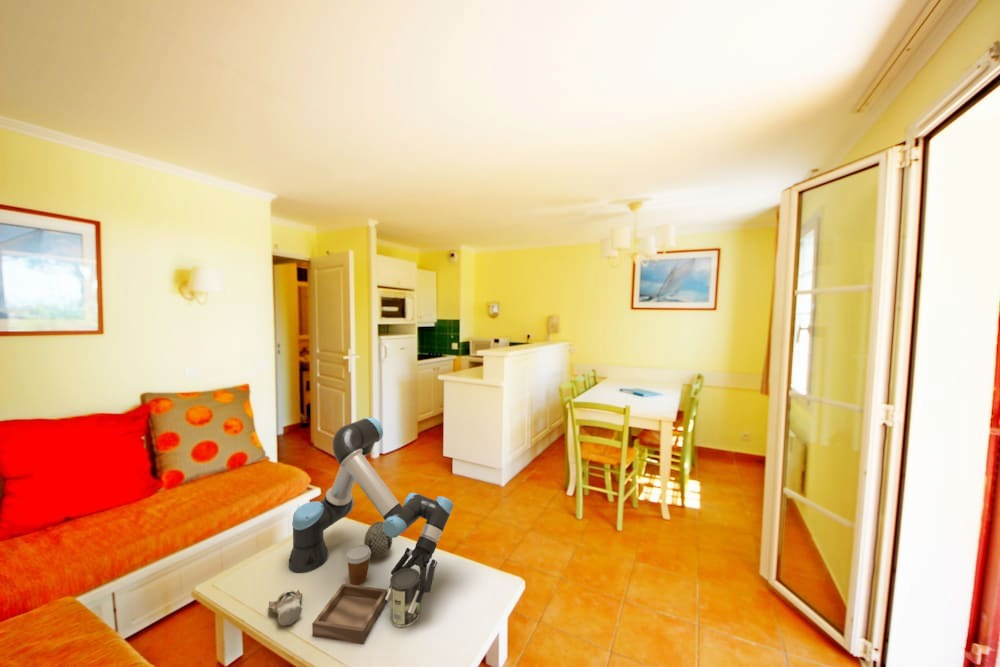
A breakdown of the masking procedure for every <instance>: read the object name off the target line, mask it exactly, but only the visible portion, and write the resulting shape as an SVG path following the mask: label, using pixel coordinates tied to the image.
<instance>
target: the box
mask: <svg viewBox="0 0 1000 667" xmlns="http://www.w3.org/2000/svg"><path fill="white" fill-rule="evenodd" d="M388 592H389V590H388V589H387V588H381V587H379V588H378V587H374V586H373V587H370V586H366V585H365V586H364V585H352V584H351V583H350V584H349V583H342V584H341V585H340V587H338V589H337V591H335V593H334V595H332V597H331V599H329V601H328V602H327V603H326V604H325V606H324V607H323V608H322V610H321V611H320V613H319V614H318V615H317V617H316V618H315V619H314V620H313V622H312V623H311V627H312V628H311V629H312V630H311V631H312V637H315V638H316V637H317V638H322V639H326V640H327V639H329V640H334V641H335V640H336V641H340V642H345V643H347V642H348V643H353V644H360V645H364V644H365V641H366V640H367V638H368V636H369V634H370V632H371V631H372V629H373V627H374V626H375V624H376V622H377V620H378V619H379V617H380V615H381V614H382V611H383V610H384V608H385V606H386V604H387V603H388V600H386V596H387V594H388Z"/></svg>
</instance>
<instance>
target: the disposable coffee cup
mask: <svg viewBox="0 0 1000 667" xmlns="http://www.w3.org/2000/svg"><path fill="white" fill-rule="evenodd" d="M370 555H371V550H370V548H369V547H368V546H367V545H364V544H358V545H355V546H352V547H350V548H349V550H348V551H347V552H346V555H345V561H346V562H347V568H348V575H349V581H350V584H351V585H358V586H362V585H363V584H364V583H366V582H367V580H368V574H369V565H370V558H371V557H370Z"/></svg>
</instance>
